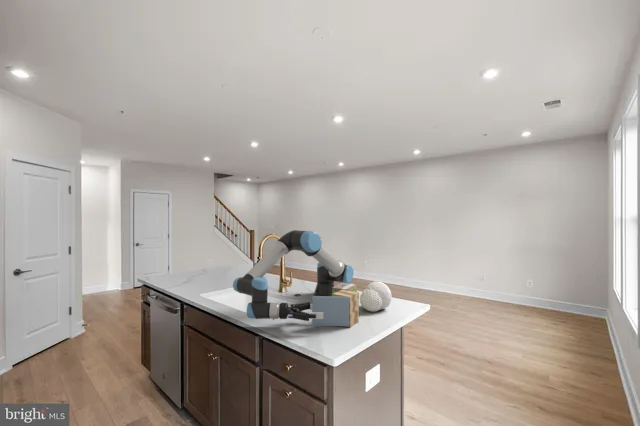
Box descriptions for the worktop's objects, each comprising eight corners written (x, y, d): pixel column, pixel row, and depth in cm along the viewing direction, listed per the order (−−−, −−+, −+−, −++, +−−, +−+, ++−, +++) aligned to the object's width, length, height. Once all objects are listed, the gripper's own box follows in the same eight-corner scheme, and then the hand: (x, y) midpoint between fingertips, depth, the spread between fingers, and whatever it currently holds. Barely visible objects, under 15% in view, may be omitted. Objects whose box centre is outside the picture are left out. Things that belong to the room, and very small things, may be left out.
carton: (341, 317, 161) (341, 289, 161) (358, 321, 156) (358, 292, 156) (332, 323, 152) (332, 293, 153) (350, 327, 147) (350, 296, 147)
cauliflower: (372, 288, 192) (376, 271, 181) (395, 305, 183) (401, 288, 172) (352, 307, 180) (355, 290, 170) (376, 326, 171) (381, 310, 161)
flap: (312, 324, 148) (312, 296, 148) (349, 325, 147) (349, 296, 147) (312, 325, 147) (312, 296, 147) (349, 326, 146) (349, 297, 146)
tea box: (347, 316, 163) (347, 289, 163) (330, 313, 168) (331, 287, 168) (357, 309, 177) (357, 283, 177) (341, 306, 181) (341, 281, 181)
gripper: (282, 310, 159) (322, 310, 159) (275, 328, 135) (323, 328, 134) (282, 296, 159) (323, 296, 159) (275, 311, 135) (323, 311, 135)
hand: (323, 311), depth 147 cm, fingers open, 13 cm apart
